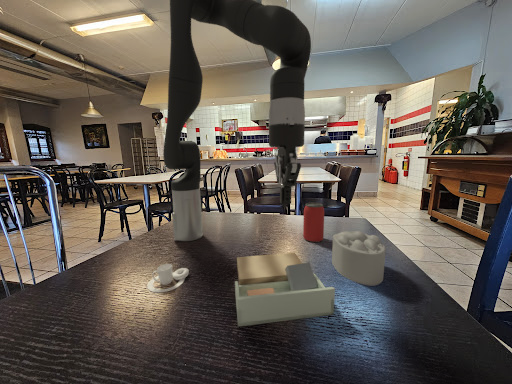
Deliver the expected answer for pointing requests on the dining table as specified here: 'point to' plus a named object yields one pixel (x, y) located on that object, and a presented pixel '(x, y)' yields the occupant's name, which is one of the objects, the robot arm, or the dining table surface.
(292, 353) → the dining table surface
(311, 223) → the beer can
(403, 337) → the dining table surface
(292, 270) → the slate tile
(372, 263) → the lumpy-topped squat cylinder
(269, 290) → the terracotta tile
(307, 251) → the dining table surface
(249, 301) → the tray
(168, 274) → the teacup and saucer
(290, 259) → the board
